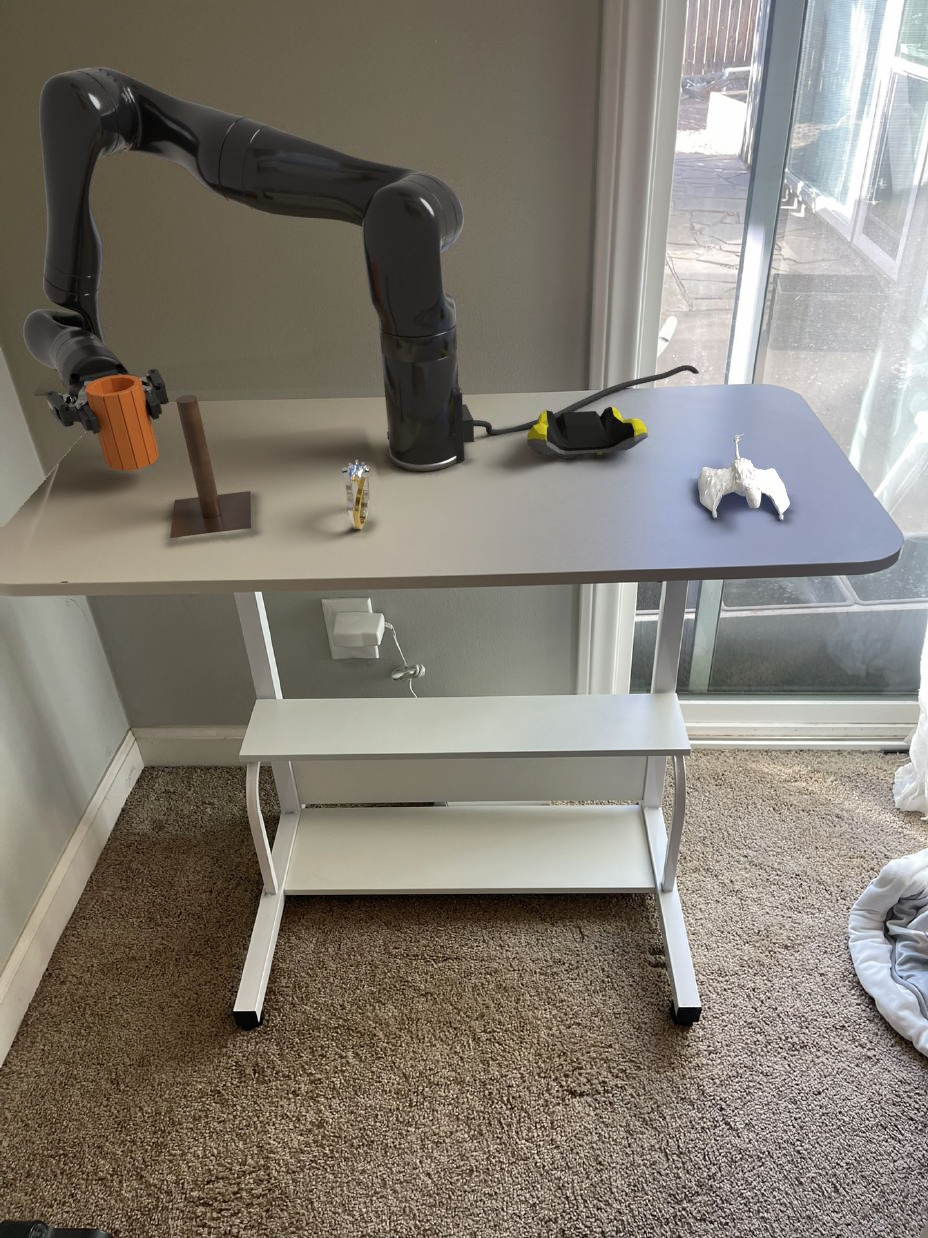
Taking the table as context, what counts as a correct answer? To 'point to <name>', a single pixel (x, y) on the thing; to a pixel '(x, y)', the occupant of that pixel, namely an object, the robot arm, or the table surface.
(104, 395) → the orange stave barrel
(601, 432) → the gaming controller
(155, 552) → the table surface
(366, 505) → the ring
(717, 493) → the white dragon
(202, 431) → the brown peg stand
